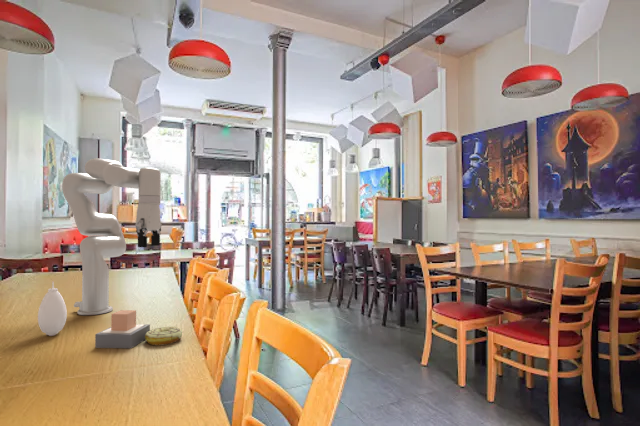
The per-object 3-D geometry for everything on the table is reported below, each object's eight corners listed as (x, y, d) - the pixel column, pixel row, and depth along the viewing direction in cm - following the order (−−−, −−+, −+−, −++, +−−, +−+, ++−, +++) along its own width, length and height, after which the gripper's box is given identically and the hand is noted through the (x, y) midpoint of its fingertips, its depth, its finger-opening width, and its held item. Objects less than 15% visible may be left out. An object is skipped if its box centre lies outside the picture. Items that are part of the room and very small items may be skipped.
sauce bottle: (63, 330, 130) (64, 278, 130) (68, 334, 124) (69, 280, 125) (35, 334, 124) (36, 280, 125) (39, 340, 119) (40, 283, 119)
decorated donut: (188, 341, 119) (188, 329, 119) (154, 349, 111) (154, 336, 111) (172, 334, 126) (173, 322, 126) (140, 341, 118) (140, 329, 118)
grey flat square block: (95, 347, 112) (95, 333, 112) (117, 336, 123) (117, 323, 123) (131, 348, 111) (131, 333, 111) (149, 336, 122) (149, 323, 122)
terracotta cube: (111, 330, 115) (111, 314, 115) (120, 325, 120) (120, 310, 120) (127, 330, 114) (127, 314, 114) (136, 326, 119) (136, 310, 119)
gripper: (151, 202, 150) (151, 244, 149) (126, 199, 132) (126, 248, 132) (169, 202, 149) (169, 244, 149) (147, 199, 132) (147, 248, 132)
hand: (149, 246), depth 141 cm, fingers open, 9 cm apart
